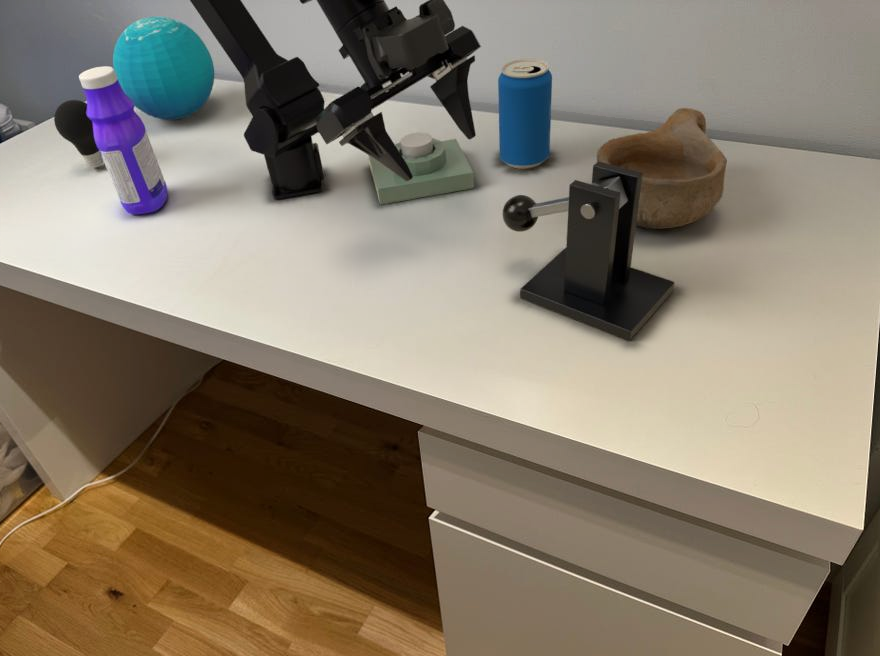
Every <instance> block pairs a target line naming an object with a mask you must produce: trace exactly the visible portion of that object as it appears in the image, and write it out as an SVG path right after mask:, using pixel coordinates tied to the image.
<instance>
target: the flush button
mask: <svg viewBox="0 0 880 656" xmlns="http://www.w3.org/2000/svg"><path fill="white" fill-rule="evenodd" d="M432 138H433V137H432V135H431V134H430V133H426V132H412V133H408V134H406V135H404V136H402V137H401V139H400V141H399V142H401V150H402V155H403V156H404V157H406V158H420V157H425V156H428V155H430V154H432V153H433V142H432Z"/></svg>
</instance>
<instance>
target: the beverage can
mask: <svg viewBox="0 0 880 656" xmlns="http://www.w3.org/2000/svg"><path fill="white" fill-rule="evenodd" d="M497 79H498V80H497V84H498V85H497V87H498V89H497V90H498V95H497V96H498V141H499V144H498V145H499V146H498V147H499V158H500V160H501V161H502V162H503V163H505V164H506V165H508V166H509V167H511V168H514V169H519V170H527V169H532V168H537V167H538V166H540V165H542V164H543V162H545V161H546V160H548V158H549V157H550V154H551V126H552V125H551V123H552V96H553V95H552V94H553V74H552V72H551V71H550V65H549V63H548V62H546V61H545V60H542V59H537V58H520V59H519V58H518V59H513V60H511V61H508V62H506V63H505V64H503V65H502V67H501V73H500V74H499V76H498V78H497Z"/></svg>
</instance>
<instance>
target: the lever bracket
mask: <svg viewBox="0 0 880 656" xmlns="http://www.w3.org/2000/svg"><path fill="white" fill-rule="evenodd" d="M591 175H592V177H591V183H588V182H585V181H581V180H577V179H575V180H573V181H572V182H571V183H569V189H568V197H569V206H568V211H567V225H566V243H565V245H566V246H565V248H564V249H563V250H561V251H560V252H559V253H558V254H557V255H556V256H555V257H554V258H553V259H552V260H550V261H549V262H548V263H547V264H546V265H544V267H543V268H541V269H540V270H539V271H538V272H537V273H536V274H535V275H534V276H533V277H532V278H530V280H528V281H527V282H526V283H525V284H524V285H523V286H522V287H521V288H519V289H520V290H519V298H520V299H522V300H525V301H527V302H529V303H532V304H533V305H536V306H540V307H542V308H544V309H547V310H550V311H551V312H554V313H557V314H560V315H563V316H565V317H568V318H570V319H573V320H575V321H578V322H581V323H583V324H585V325H587V326H590V327H593V328H595V329H598V330H600V331H602V332H605V333H608V334H611V335H613V336H615V337H618V338H621V339H622V340H626V341H628V342H630V341H631V340H632V339H633V338H634V336H636V334H637V333H638V332H639V331H640V330H641V329H642V327H643V326H644V325H645V324H646V323H647V322H648V320H649V319H651V317H652V316H653V315H654V314H655V313H656V312H657V310H658V309H659V308H660V307H661V306H662V305H663V303H664V302H665V301H666V300H667V299H668V297H670V295H672V293H673V292H674V288H675V281H674V280H670V279H668V278H664V277H661V276H658V275H656V274H653V273H649V272H647V271H643V270H640V269H638V268H634V267H632V259H633V253H634V243H635V236H636V229H637V225H636V222H637V214H638V206H639V199H640V191H641V183H642V175H643V173H642V172H638V171H634V170H631V169H627V168H623V167H619V166H615V165H611V164H607V163H603V162H597V161H596V163H594V164H593V165H592V174H591ZM615 177H620V179H621V182H622V185H623V187H624V190H625V193H626V196H627V199H628V201H627V202H626V203H625V204H624V205H623V206H622V207H621V208H620V209H619V204H620V195H621V192H617V191H614V190H610V189H606V188H603V187H599V186H595V185H592V183H593V182H597V181H601V180H606V179H610V178H615Z"/></svg>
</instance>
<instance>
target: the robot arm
mask: <svg viewBox="0 0 880 656" xmlns="http://www.w3.org/2000/svg"><path fill="white" fill-rule="evenodd" d="M189 1H190V3H191V4H192V6H193V7H194V9H195V10H196V12H197V14H198V15H199V16H200V18H201V19H202V20H203V22H204V23H205V24H206V27H208V29H209V31H210V32H211V33H212V36H213V37H214V38H215V40H216V41H217V42H218V44H219V45H220V47H221V48H222V49H223V51H224V52H225V54H226V55H227V57H228V58H229V60H230V61H231V63H232V64H233V65H234V66H235V68H236V70H237V71H238V73H239V74H240V77H242V79H243V86H244V96H245V105H246V107H247V109H248V111H249V113H250V115H251V116H252V118H251V119H250V121H249V123H248V125H247V127H246V129H245V131H244V132H243V137H244V140H245V141H246V143H247V145H248V147H249V150H250V151H251V152H255V153H257V154H261V155H263V157H264V161H265V164H266V168H267V171H268V175H269V180H270V183H271V192H272V193H271V194H272V195H271V196H272V199H274V200H280V199H285V198H291V197H297V196H302V195H309V194H314V193H320V192H322V191H323V181H324V180H325V173H324V168H323V163H322V158H321V154H320V149H319V144H318V143H317V142H313V139H312V138H313V136H314V135H317V134H320V137H321V138H322V140H323V141H324V144H325V145H329V144H331V143H332V142H334V141H336V140H337V139H339V138H340V137H342V138H341V140H339V141H338V143H339V145H340V146H341V147H344V146H345V145H347V144H349V145H350V146H352V147H354V148H356V149H357V150H359V151H361V152H363V153H364V154H366V155H367V156H368V155H370V156H371V157H373V158H374V159H376V160H377V161H379V162H380V163H382V164H383V165H384V166H386V167H387V168H388V169H390V170H391V171H393V172H394V173H395V174H397V175H398V176H400V177H401V178H402V179H404V180H405V181H409V180H411V179H412V178H413V176H412V174H411V171H410V169H409V167H408V165H407V163H406V162H405V160H404V159H403V157H402V156H401V154H400V152H399V151H398V149H397V148H396V146H395V144H396V143H394V141H393V139H392V138H391V137H390V134H389V133H388V132H387V130H386V127H385V121H384V116H383V112H382V111H380V112H378V113H377V114H374V113H373V112H372V111H373V110H374V109H376V108H377V107H379V106H381V105H382V104H385V103H386V102H388V100H390V99H393V98H394V97H396V96H398V95H399V94H401V93H402V92H404V91H406V90H407V89H409V88H411V87H412V86H414V85H416V84H417V83H419V82H420V81H422V80H424V79H425V78H427V77H428V78H430V79H434V80H435V82H433V83H432V84H431V85H430V86H429V88H430V89H431V91H432V92H433V93H434V95H435V97H436V98H437V99H438V101H439V102H440V104H441V105H442V106H443V108H444V109H445V110H446V112H447V114H448V115H449V117H450V118H451V119H452V121H453V122H454V124H455V125H456V126H457V128H458V129H459V130H460V132H461V133H462V134H463V135H464V137H465V138H466V139H468V140H469V141H470V140H472V139H474V138H475V137H476V135H477V134H476V129H475V123H474V117H473V112H472V107H471V101H470V95H469V84H468V81H469V80H468V79H469V74H470V69H471V65H472V64H473V63H475V62H476V55H473V54H474V53H475V52H476V51H477V50H479V49H480V48H481V47H482V46H481V44H480V42H479V39H478V38H477V36H476V34H475V33H474V31H473V30H472V29H470V28H468V27H466V26H464V25H461V26H459V27H458V28H456V29H455V27H456V24H455V20H454V16H453V14H452V11H451V9H450V8H449V6H448V5H447V3H446V2H445V0H426V1H425V2H423V3H422V4H420V5H419V7H418V12H419V13H418V15H416V16H414V17H412V18H409V19H407V18H406V17H405V14H403V12H402V10H401V9H399V7H398V6H396V5H395V6H394V7H392V8H389V6H388V4H387V3H386V0H316V2H317V4H318V6H319V7H320V9H321V10H322V12H323V14H324V16H325V18H326V20H328V22H329V24H330V26H331V27H332V30H333V31H334V33H335V34H336V36H337V38H338V39H339V41H340V43H341V44H342V45H341V47H340V48H339V49H338V52H339V54H340V56H341V57H342V60H345V59H348V58H350V59H351V61H352V63H353V65H354V67H355V68H356V70H357V71H358V73H359V76H360V77H361V78H362V80H363V81H364V83H363V84H361V86H356V87H355V88H352V89H351V90H349V91H347V92H346V93H344V94H342V95H341V96H338V97H337V98H336V99H334V100H332V101H331V102H330V103H328V105H327V106H326V107H325V98H324V95H323V94H322V92H321V90H320V88H319V87H320V83H319V82H318V81H317V80H316V79H315V78H314V77H313V75H311V73H310V72H309V70H308V67H307V66H306V64H305V62H304V61H303V59H301V58H300V57H299V56H295V57H293V58H291V59H289V60H288V59H287V58H285V57H283V56H281V55H280V54H278V53H277V52H276V50H275V49H274V48H273V46H272V45H271V43H270V42H269V40H268V39H267V37H266V36H265V35H264V33H263V31H262V30H261V27H260V26H259V25H258V23H257V22H256V20H254V18H253V16H252V15H251V13H250V12H249V9H247V6H245V4H244V3H243V1H242V0H189ZM312 1H313V0H299V2H300V3H301V4H303V5H304V4H307V3H309V2H312ZM471 55H472V56H471ZM470 56H471V57H470ZM389 82H390V84H388V83H389ZM386 84H388V85H386ZM385 85H386V86H385ZM384 86H385V87H384Z"/></svg>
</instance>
